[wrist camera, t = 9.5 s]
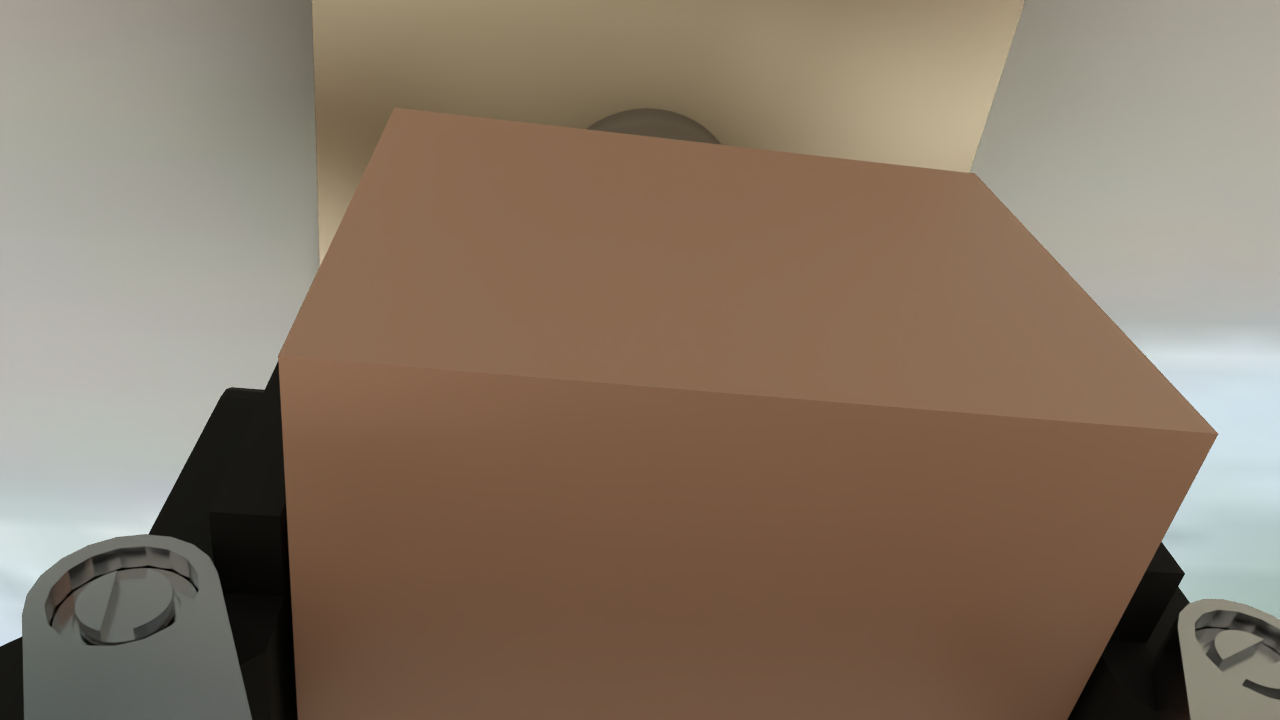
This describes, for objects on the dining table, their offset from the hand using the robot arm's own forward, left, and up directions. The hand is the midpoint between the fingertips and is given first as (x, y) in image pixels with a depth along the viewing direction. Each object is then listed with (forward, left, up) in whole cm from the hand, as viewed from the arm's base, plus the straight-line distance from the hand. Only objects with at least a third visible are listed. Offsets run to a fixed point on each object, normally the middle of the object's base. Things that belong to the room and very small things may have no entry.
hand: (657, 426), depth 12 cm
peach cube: (0, 0, -1) cm, 1 cm away
